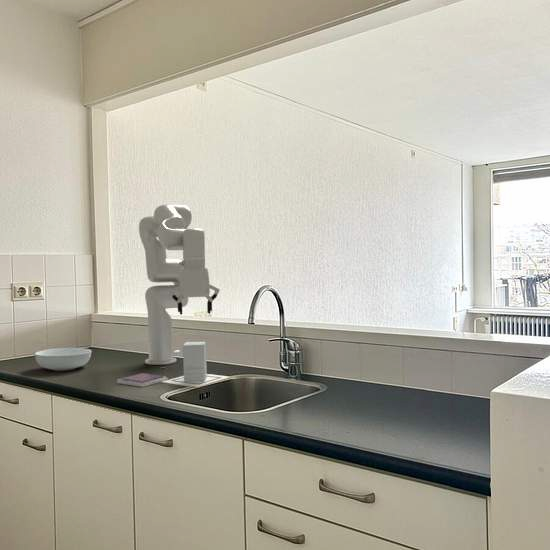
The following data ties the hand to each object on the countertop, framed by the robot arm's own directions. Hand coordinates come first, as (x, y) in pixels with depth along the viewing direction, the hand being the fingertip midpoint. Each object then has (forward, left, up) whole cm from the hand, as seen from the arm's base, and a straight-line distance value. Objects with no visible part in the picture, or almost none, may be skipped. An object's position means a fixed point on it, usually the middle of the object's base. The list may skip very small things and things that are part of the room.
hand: (195, 313), depth 198 cm
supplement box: (0, 0, -23) cm, 23 cm away
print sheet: (0, 0, -23) cm, 23 cm away
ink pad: (+11, -15, -23) cm, 30 cm away
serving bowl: (+8, -61, -24) cm, 66 cm away
